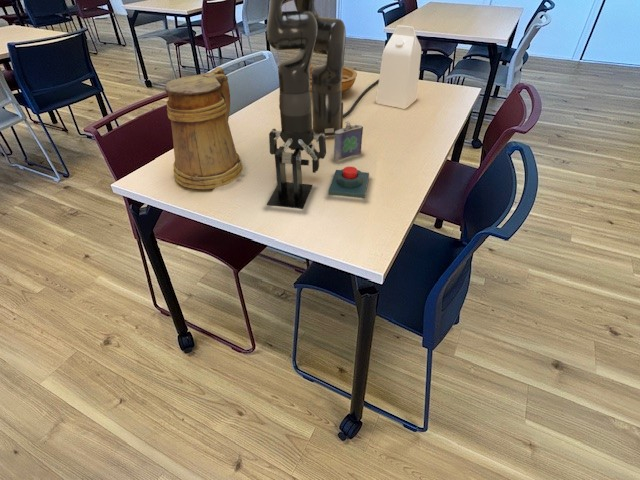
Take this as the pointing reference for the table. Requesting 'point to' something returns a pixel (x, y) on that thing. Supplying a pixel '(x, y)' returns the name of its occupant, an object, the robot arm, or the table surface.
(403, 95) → the milk
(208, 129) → the tankard
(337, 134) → the flask
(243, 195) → the table surface
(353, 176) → the button
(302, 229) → the table surface
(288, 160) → the lever
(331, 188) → the button box
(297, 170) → the bracket
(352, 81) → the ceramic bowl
